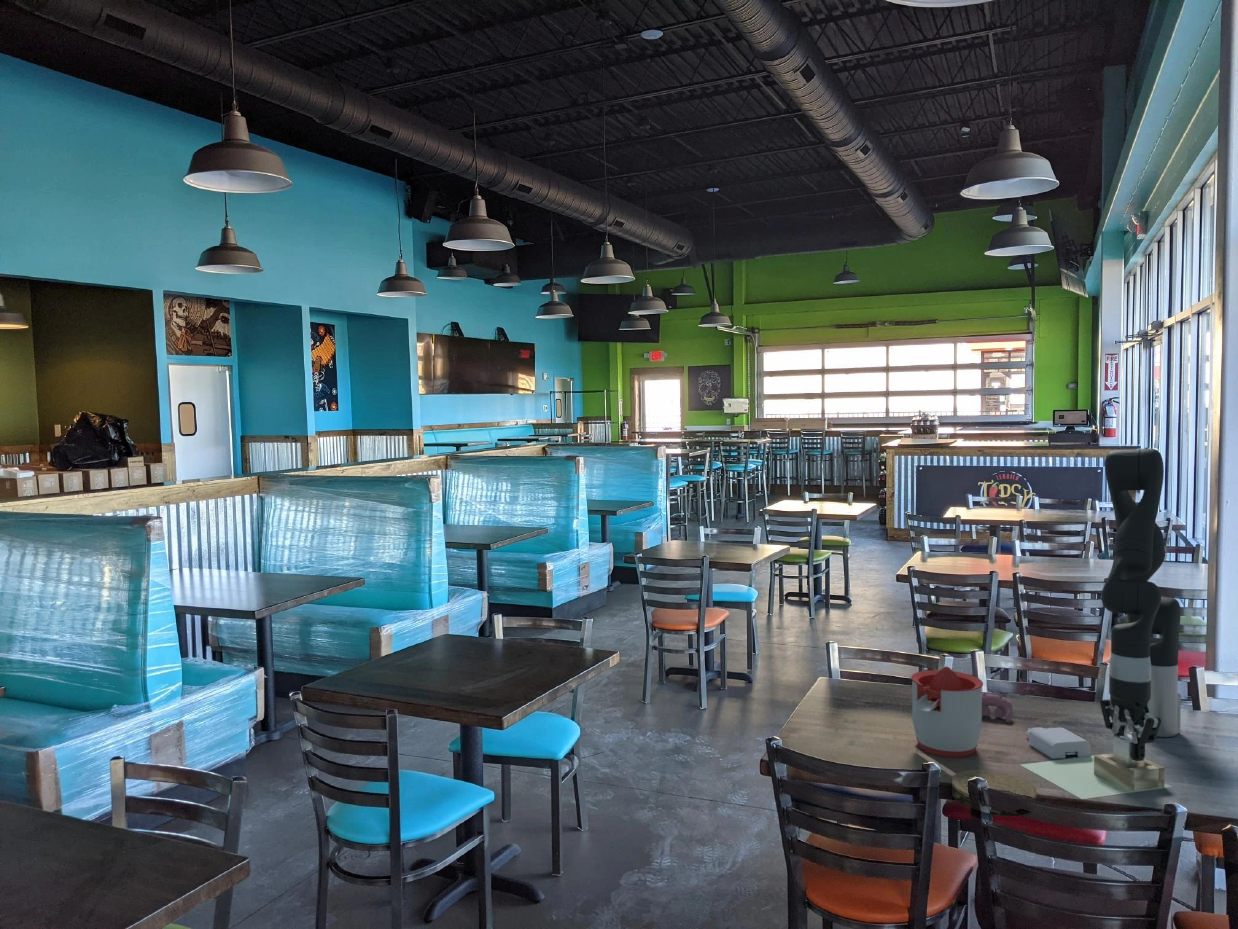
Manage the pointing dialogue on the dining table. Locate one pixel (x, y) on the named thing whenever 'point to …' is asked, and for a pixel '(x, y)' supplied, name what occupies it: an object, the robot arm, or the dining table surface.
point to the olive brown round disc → (991, 786)
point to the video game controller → (1000, 702)
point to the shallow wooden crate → (1129, 774)
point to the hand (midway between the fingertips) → (1128, 755)
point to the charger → (1058, 742)
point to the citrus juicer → (947, 711)
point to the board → (1078, 777)
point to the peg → (1125, 751)
